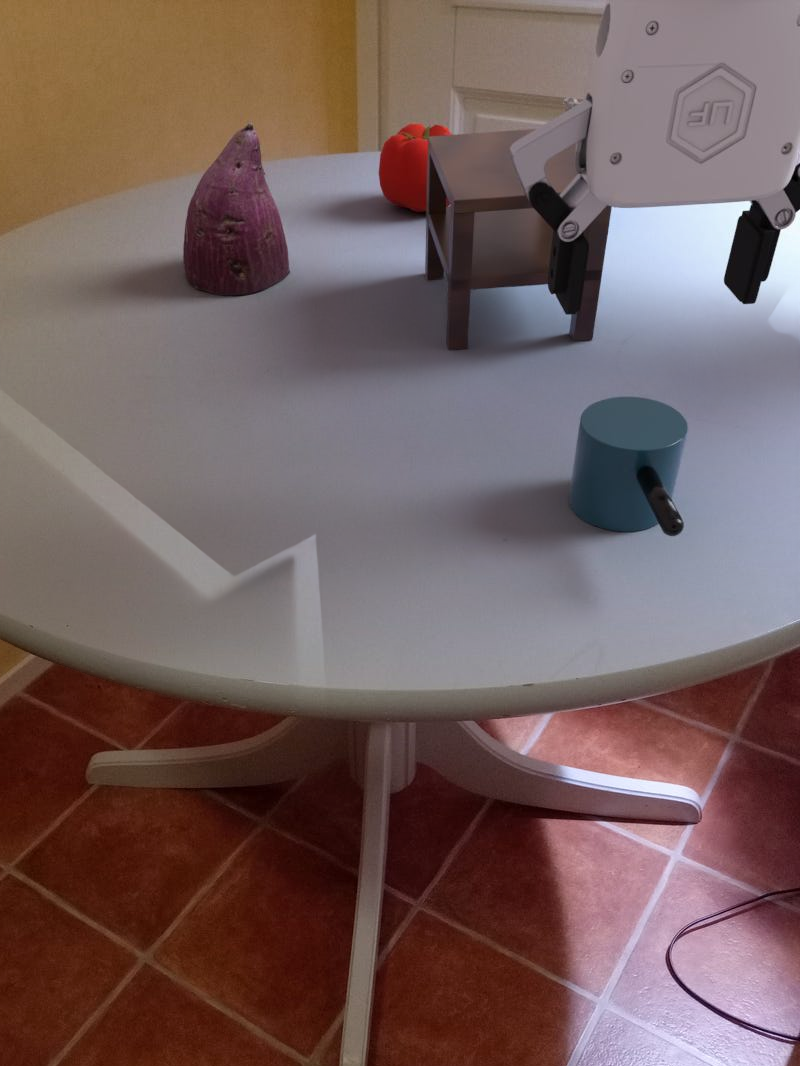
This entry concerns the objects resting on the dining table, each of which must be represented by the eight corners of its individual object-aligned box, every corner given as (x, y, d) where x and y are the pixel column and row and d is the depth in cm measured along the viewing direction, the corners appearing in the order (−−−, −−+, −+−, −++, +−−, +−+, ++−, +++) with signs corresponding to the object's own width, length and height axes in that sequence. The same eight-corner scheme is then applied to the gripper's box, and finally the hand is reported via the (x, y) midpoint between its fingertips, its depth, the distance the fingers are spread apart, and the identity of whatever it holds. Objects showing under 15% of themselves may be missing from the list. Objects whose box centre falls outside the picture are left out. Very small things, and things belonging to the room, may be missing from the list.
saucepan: (653, 472, 66) (669, 392, 62) (715, 589, 57) (739, 505, 53) (559, 478, 66) (569, 399, 62) (606, 597, 57) (622, 514, 53)
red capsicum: (420, 227, 101) (421, 149, 96) (363, 206, 106) (362, 132, 101) (483, 203, 105) (487, 127, 100) (426, 184, 110) (427, 111, 105)
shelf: (551, 263, 93) (565, 126, 84) (592, 340, 81) (614, 188, 73) (425, 272, 93) (427, 136, 84) (448, 350, 81) (454, 200, 73)
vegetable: (297, 288, 99) (331, 130, 90) (263, 319, 91) (297, 149, 82) (202, 255, 100) (226, 95, 91) (161, 283, 92) (182, 111, 83)
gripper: (548, -55, 40) (510, 338, 52) (966, -79, 40) (835, 319, 52) (513, -78, 46) (486, 281, 57) (881, -100, 46) (780, 264, 57)
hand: (652, 299), depth 54 cm, fingers open, 9 cm apart
